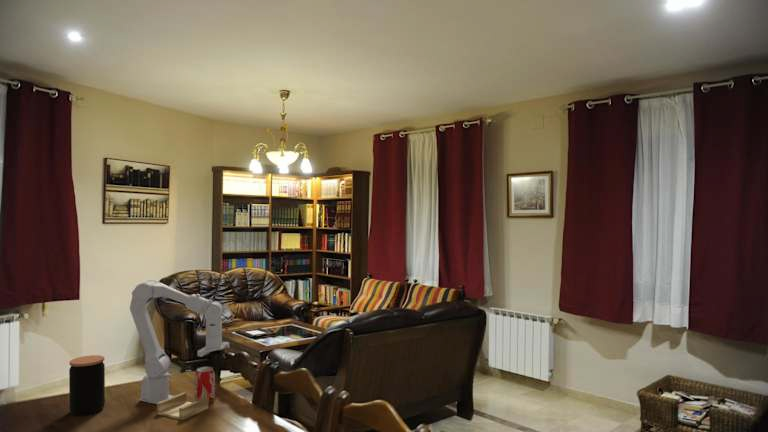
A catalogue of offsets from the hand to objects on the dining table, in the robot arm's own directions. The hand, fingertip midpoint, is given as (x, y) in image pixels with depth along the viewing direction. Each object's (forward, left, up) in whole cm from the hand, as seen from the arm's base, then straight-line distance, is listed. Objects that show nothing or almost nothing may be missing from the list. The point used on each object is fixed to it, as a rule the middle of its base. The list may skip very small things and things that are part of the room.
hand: (214, 370), depth 190 cm
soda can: (0, -5, -10) cm, 11 cm away
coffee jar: (-31, -29, -10) cm, 43 cm away
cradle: (0, -15, -10) cm, 18 cm away
